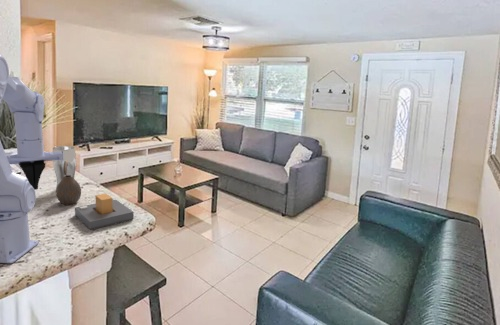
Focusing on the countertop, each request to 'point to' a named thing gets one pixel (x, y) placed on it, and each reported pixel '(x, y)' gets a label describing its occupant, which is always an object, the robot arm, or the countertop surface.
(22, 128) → the robot arm
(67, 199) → the vase
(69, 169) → the metal tumbler
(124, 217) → the socket
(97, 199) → the plug
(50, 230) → the countertop surface
